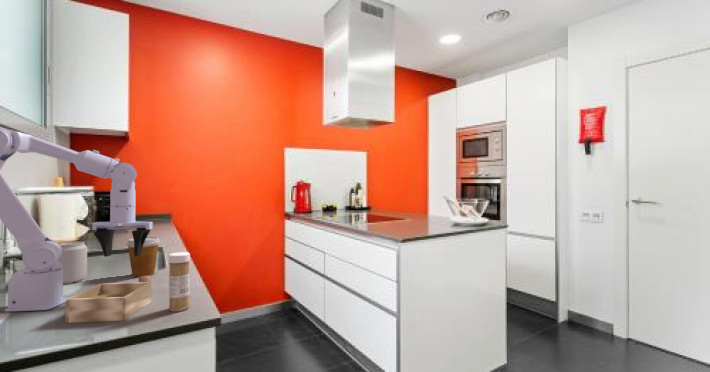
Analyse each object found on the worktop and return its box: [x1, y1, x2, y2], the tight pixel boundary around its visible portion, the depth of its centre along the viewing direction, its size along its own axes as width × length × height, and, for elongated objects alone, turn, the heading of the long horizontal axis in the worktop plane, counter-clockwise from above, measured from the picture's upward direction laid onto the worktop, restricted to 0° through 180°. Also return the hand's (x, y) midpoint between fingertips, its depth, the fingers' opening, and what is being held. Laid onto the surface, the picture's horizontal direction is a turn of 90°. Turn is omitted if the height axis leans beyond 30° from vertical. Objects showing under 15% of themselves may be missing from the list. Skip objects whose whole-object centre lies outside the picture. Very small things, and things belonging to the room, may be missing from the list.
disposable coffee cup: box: [126, 236, 161, 278], centre depth 112 cm, size 10×10×12 cm
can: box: [58, 241, 88, 285], centre depth 104 cm, size 8×8×12 cm
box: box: [65, 281, 152, 324], centre depth 79 cm, size 12×12×5 cm
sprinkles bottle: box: [168, 251, 191, 313], centre depth 81 cm, size 5×5×14 cm
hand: (122, 255), depth 93 cm, fingers open, 7 cm apart
